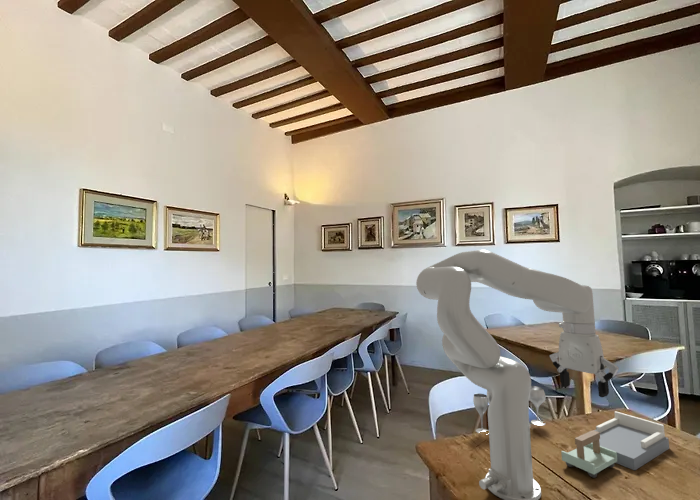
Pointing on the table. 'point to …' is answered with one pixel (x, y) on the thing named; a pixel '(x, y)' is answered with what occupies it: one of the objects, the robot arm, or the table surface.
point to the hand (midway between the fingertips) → (583, 391)
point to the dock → (633, 439)
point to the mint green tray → (590, 454)
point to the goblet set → (482, 400)
